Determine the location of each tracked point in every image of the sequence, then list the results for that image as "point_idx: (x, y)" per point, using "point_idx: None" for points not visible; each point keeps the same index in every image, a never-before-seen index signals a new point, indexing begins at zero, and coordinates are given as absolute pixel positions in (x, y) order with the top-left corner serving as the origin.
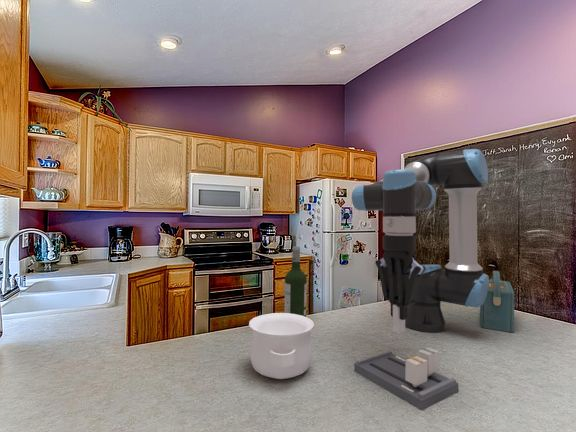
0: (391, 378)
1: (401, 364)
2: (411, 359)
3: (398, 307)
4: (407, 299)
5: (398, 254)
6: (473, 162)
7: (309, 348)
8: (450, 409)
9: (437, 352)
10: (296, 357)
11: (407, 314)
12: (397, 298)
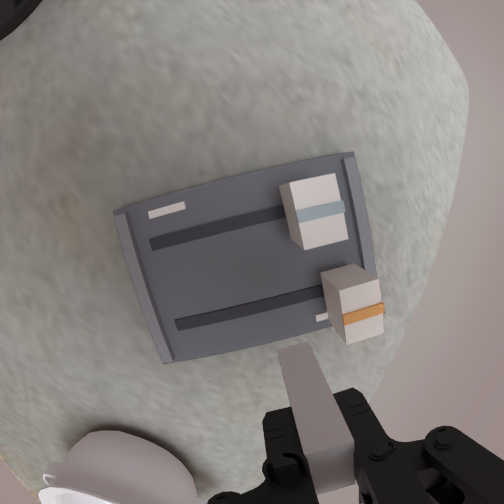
0: (272, 319)
1: (207, 236)
2: (352, 325)
3: (353, 475)
4: (446, 494)
5: None
6: None
7: (161, 483)
8: (392, 240)
9: (336, 181)
10: (192, 501)
11: (367, 403)
12: (304, 497)
